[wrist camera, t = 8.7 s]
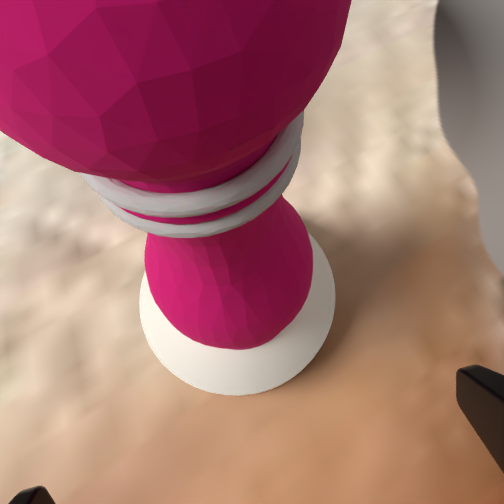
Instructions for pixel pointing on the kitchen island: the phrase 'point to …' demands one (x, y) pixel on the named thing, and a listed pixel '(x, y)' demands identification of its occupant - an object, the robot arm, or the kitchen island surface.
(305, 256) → the pepper mill
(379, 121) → the kitchen island surface
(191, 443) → the kitchen island surface
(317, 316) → the stand
